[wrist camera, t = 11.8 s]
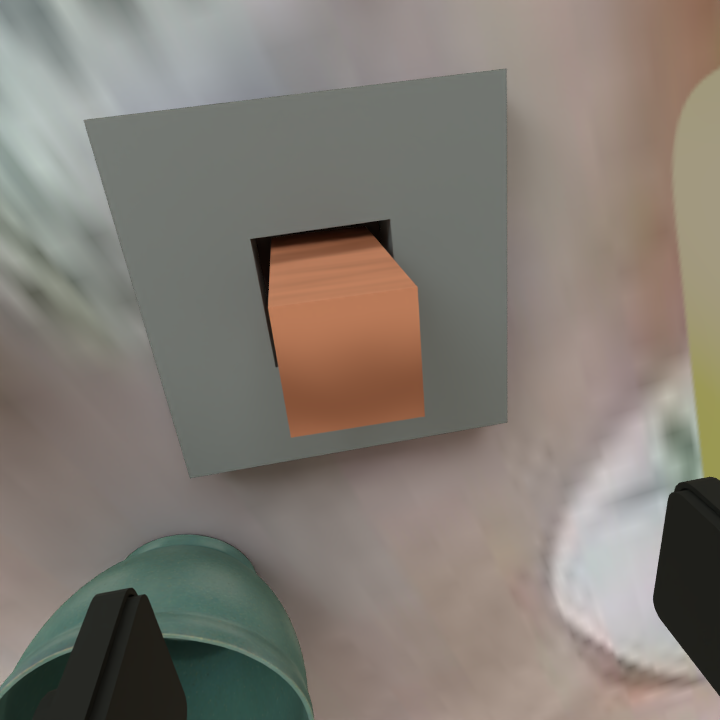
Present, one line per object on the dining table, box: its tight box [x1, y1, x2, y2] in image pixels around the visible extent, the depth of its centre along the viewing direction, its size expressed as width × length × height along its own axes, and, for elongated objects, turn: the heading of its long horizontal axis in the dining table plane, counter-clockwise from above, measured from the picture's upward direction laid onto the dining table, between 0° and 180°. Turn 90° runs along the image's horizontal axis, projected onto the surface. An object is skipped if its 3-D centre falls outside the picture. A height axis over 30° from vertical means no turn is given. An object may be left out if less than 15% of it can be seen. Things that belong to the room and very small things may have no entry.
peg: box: [268, 226, 425, 438], centre depth 24 cm, size 5×5×12 cm
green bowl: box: [0, 534, 314, 720], centre depth 32 cm, size 16×16×11 cm
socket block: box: [84, 69, 507, 478], centre depth 28 cm, size 18×18×4 cm
